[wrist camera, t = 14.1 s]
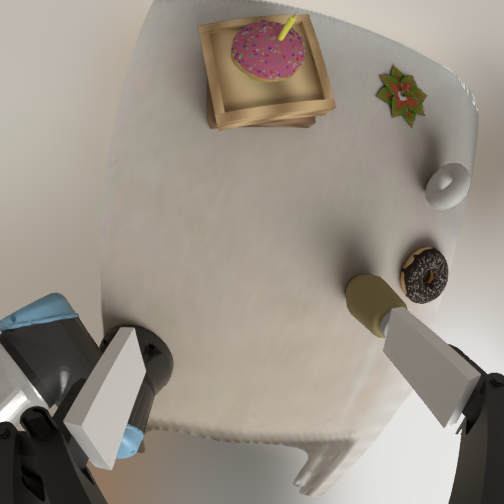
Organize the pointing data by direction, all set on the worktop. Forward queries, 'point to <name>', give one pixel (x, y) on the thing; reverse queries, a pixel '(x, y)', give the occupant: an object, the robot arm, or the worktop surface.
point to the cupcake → (268, 50)
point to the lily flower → (409, 88)
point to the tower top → (263, 93)
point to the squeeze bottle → (372, 302)
